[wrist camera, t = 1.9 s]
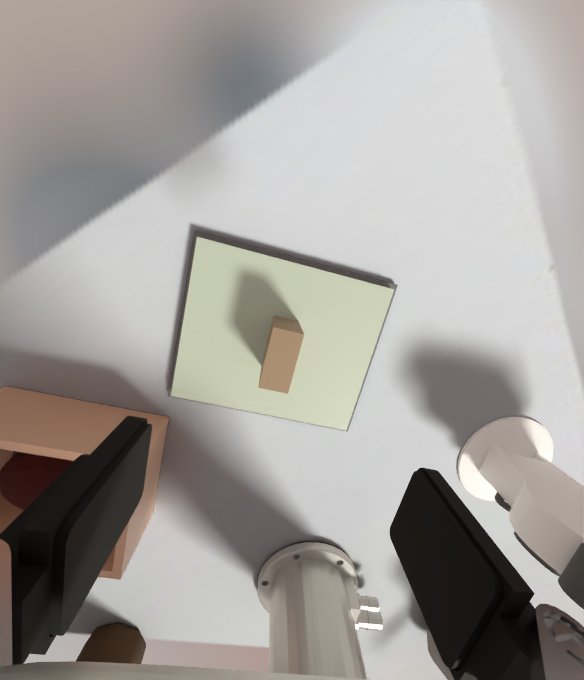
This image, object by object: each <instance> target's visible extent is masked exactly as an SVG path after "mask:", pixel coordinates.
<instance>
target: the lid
mask: <svg viewBox="0 0 584 680" xmlns="http://www.w3.org/2000/svg"><path fill="white" fill-rule="evenodd" d="M393 292H394V289H391V288H387V287H383V286H379V285H376V284H372V283H368V282H364V281H361V280H357V279H353V278H350V277H346V276H342V275H338V274H335V273H331V272H327V271H323V270H320V269H316V268H312V267H308V266H305V265H301V264H297V263H293V262H290V261H286V260H282V259H279V258H275V257H271V256H267V255H264V254H260V253H256V252H252V251H249V250H245V249H241V248H237V247H234V246H230V245H226V244H223V243H219V242H215V241H211V240H208V239H204V238H200V237H197V239H196V245H195V251H194V258H193V264H192V270H191V276H190V282H189V288H188V294H187V300H186V306H185V312H184V318H183V324H182V331H181V337H180V343H179V349H178V355H177V361H176V367H175V373H174V379H173V385H172V391H171V396H173V397H179V398H184V399H189V400H194V401H199V402H204V403H209V404H214V405H219V406H224V407H229V408H234V409H239V410H244V411H249V412H254V413H259V414H265V415H270V416H275V417H280V418H285V419H290V420H295V421H300V422H305V423H310V424H315V425H320V426H325V427H330V428H335V429H340V430H345V431H347V428H348V425H349V422H350V419H351V416H352V413H353V410H354V407H355V404H356V401H357V398H358V395H359V392H360V389H361V386H362V384H363V381H364V378H365V375H366V372H367V369H368V366H369V363H370V360H371V357H372V354H373V351H374V348H375V345H376V342H377V339H378V336H379V333H380V331H381V328H382V325H383V322H384V319H385V316H386V313H387V310H388V307H389V304H390V301H391V298H392V295H393Z"/></svg>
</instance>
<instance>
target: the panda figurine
mask: <svg viewBox="0 0 584 680" xmlns="http://www.w3.org/2000/svg"><path fill="white" fill-rule="evenodd" d="M552 458H553V442H552V438H551V436H550V434H549V433H548V431H547V430H546V429H545V428H544V427H543V426H542V425H540V424H539V423H537V422H536V421H534V420H531V419H529V418H525V417H506V418H501V419H498V420H495V421H493V422H490V423H488V424H487V425H485V426H483V427H482V428H480V429H479V430H478V431H476V432H475V433H474V434H473V435H472V436H471V437H470V438H469V440H468V441H467V442H466V444H465V445H464V447H463V449H462V451H461V453H460V455H459V459H458V465H457V471H458V476H459V479H460V481H461V483H462V485H463V486H464V487H465V489H466V490H467V491H468V492H469V493H471V494H472V495H473V496H475V497H477V498H480V499H483V500H487V501H496V502H497V503H498V504H499V505H500V506H502V507H503V508H504V509H506V510H507V511H509V512H510V513H509V518H510V521H511V524H512V526H513V528H514V530H515V532H514V535H515V536H516V538H517V539H518V541H519V542H520V543H521V544H522V545H523V547H524V548H525V549H526V550H527V551H528V552H529V553H530V554H531V555H532V556H533V557H534V558H536V559H537V560H538V561H539V562H540V563H541V564H542V565H543V566H545V567H546V568H547V569H548V570H550V571H551V572H552V573H554V574H555V575H557V576H559V579H558V582H559V585H560V586H561V588H562V589H563V591H564V592H565V593H566V594H567V595H568V596H569V597H570V598H571V599H572V600H573V601H574V602H576V603H577V604H578V605H579V606H580V607H581V608H583V609H584V486H582V485H581V484H580V483H578V482H577V481H575V480H574V479H573V478H571V477H570V476H568V475H567V474H566V473H564V472H563V471H561V470H560V469H559V468H557V467H556V466H555V465H553V464H552V463H551V461H552ZM504 500H505V501H506V502H507V503H506V502H505V501H504ZM509 505H510V506H509Z"/></svg>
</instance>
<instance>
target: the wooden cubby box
mask: <svg viewBox="0 0 584 680" xmlns="http://www.w3.org/2000/svg"><path fill="white" fill-rule="evenodd" d="M127 416H135V417H141V418H146V419H147V421H148V422H147V424H152V433H151V440H150V447H149V455H148V462H147V469H146V476H145V483H144V490H143V494H142V497H141V500H140V502H139V504H138V506H137V508H136V509H135V511H134V513H133V515H132V517H131V518H130V520H129V522H128V524H127V525H126V527H125V529H124V531H123V533H122V534H121V536H120V538H119V540H118V541H117V543H116V545H115V547H114V549H113V550H112V552H111V554H110V556H109V557H108V559H107V561H106V563H105V565H104V566H103V568H102V570H101V572H100V573H99V575H98V577H105V578H113V579H121V578H122V576H123V574H124V571H125V569H126V567H127V565H128V563H129V561H130V559H131V557H132V555H133V553H134V551H135V549H136V547H137V545H138V543H139V541H140V539H141V537H142V535H143V533H144V531H145V529H146V527H147V525H148V523H149V521H150V519H151V517H152V515H153V511H154V505H155V499H156V493H157V487H158V481H159V475H160V469H161V463H162V457H163V451H164V445H165V439H166V433H167V427H168V421H169V417H166V416H161V415H156V414H151V413H145V412H140V411H135V410H129V409H124V408H119V407H113V406H108V405H103V404H98V403H92V402H87V401H82V400H76V399H71V398H66V397H61V396H55V395H50V394H45V393H39V392H34V391H29V390H23V389H18V388H13V387H8V386H5V387H3V388H1V389H0V471H1V469H2V467H3V466H4V465H5V464H6V463H7V462H8V461H9V460H10V459H11V458H12V457H13V454H14V451H17V452H23V453H29V454H35V455H41V456H47V457H54V458H60V459H66V460H72V461H74V460H75V459H76V458H78V457H79V456H80V455H82V454H89V455H90V454H91V453H92V452H93V451H94V450H95V449H96V448H97V447H98V446H99V445H100V444H101V443H102V441H103V440H104V439H105V438H106V437H107V436H108V435H109V434H110V433H111V432H112V431H113V430H114V429H115V428H116V427H117V426H118V425H119V424H120V423H121V422H122V421H123V420H124V419H125V418H126V417H127ZM23 511H24V510H22V509H20V508H18V507H16V506H14V505H12V504H11V503H10V502H9V501H8V500H6V499H5V498H4V497H3V496H2V494H1V492H0V534H1V533H2V532H3V531H4V530H5V529H6V528H7V527H8V526H9V525H10V524H11V523H12V522H13V521H14V520H15V519H16V518H17V517H18V516H19V515H20V514H21V513H22V512H23Z"/></svg>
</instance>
